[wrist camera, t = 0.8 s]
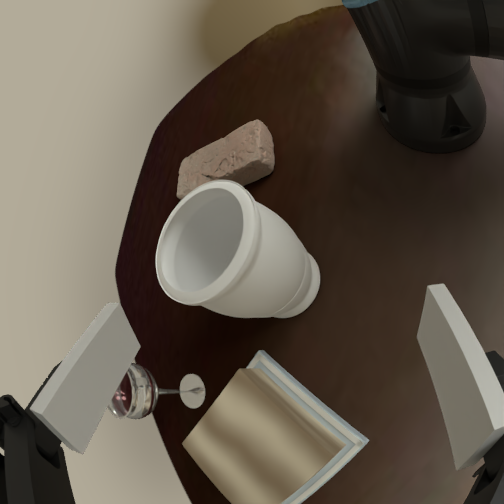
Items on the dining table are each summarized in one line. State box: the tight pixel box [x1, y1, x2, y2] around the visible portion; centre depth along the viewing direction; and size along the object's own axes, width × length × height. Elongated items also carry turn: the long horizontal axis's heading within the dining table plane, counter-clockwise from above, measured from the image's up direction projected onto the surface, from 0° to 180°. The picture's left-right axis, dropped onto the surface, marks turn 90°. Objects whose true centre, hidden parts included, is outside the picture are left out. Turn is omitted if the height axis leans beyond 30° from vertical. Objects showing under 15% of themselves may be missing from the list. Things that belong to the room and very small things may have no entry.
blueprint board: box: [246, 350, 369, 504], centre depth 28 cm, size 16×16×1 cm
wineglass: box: [108, 363, 205, 419], centre depth 32 cm, size 7×7×12 cm
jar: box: [156, 180, 320, 318], centre depth 29 cm, size 11×10×15 cm
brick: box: [177, 120, 275, 200], centre depth 45 cm, size 16×8×5 cm, turn 91°
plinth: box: [182, 368, 346, 504], centre depth 26 cm, size 13×13×4 cm
